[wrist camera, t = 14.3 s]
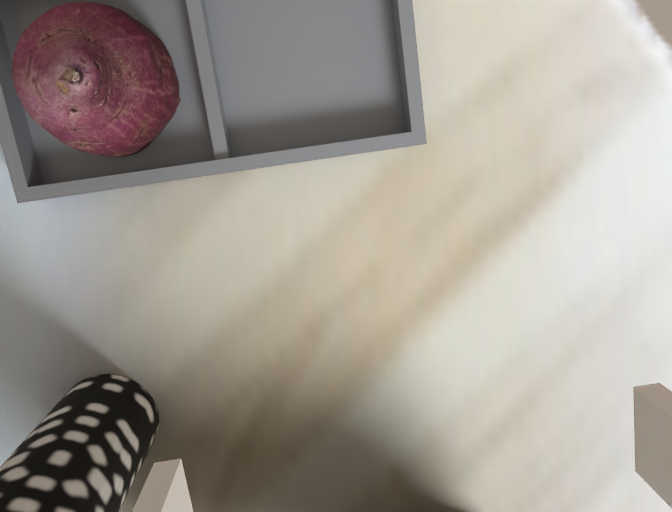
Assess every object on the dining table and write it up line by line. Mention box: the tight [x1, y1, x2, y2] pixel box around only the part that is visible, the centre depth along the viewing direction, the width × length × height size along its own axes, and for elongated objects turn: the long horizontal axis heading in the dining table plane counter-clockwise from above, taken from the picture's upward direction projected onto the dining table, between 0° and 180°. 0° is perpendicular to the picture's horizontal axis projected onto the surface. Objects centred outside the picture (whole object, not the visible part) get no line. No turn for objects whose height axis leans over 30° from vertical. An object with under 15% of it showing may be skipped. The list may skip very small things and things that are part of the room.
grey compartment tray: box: [0, 0, 427, 203], centre depth 41 cm, size 15×30×4 cm, turn 98°
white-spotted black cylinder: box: [0, 374, 159, 512], centre depth 38 cm, size 8×8×20 cm
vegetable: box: [11, 2, 181, 157], centre depth 35 cm, size 10×10×15 cm
